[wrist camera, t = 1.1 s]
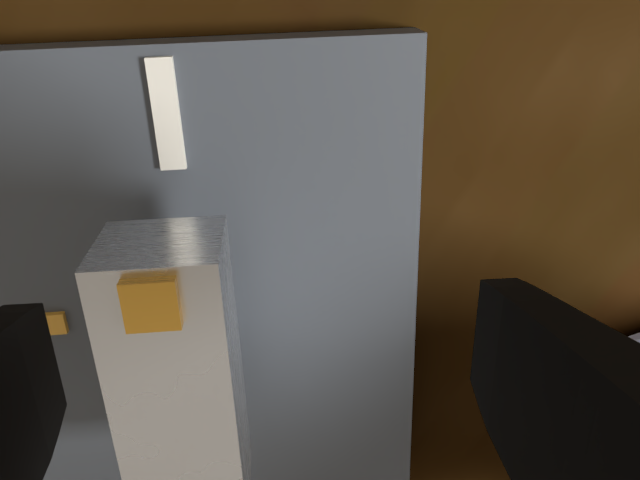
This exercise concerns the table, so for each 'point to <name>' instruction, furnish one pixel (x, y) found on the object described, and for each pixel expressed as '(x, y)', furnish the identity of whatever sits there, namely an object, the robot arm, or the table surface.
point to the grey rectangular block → (168, 347)
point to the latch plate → (234, 221)
